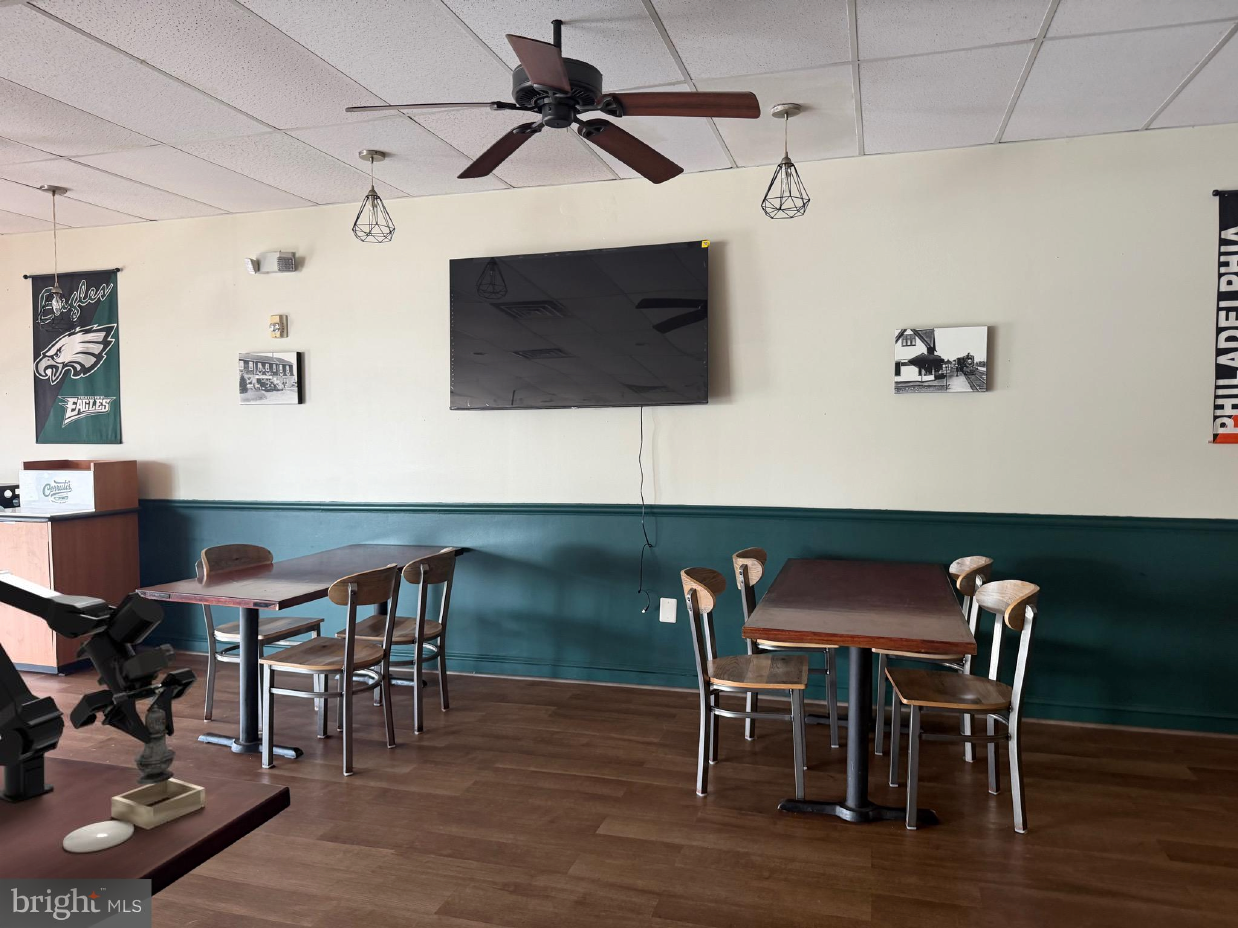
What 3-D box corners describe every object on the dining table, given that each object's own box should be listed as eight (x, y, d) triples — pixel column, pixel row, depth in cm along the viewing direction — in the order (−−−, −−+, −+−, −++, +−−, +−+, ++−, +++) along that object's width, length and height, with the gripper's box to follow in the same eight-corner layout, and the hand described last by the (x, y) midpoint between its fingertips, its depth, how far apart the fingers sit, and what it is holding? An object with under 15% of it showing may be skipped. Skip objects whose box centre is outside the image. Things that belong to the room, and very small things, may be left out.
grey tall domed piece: (157, 786, 129) (157, 711, 129) (125, 783, 130) (125, 708, 130) (184, 771, 135) (184, 699, 134) (153, 768, 136) (152, 697, 135)
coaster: (50, 843, 121) (50, 839, 121) (111, 819, 129) (111, 815, 129) (85, 857, 117) (85, 853, 117) (146, 832, 125) (146, 828, 125)
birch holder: (111, 816, 131) (111, 797, 131) (168, 794, 139) (168, 776, 139) (148, 829, 126) (148, 810, 126) (204, 805, 135) (204, 787, 135)
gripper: (82, 643, 125) (129, 725, 121) (190, 621, 142) (235, 693, 138) (49, 687, 128) (94, 769, 124) (159, 661, 145) (202, 732, 141)
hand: (160, 738), depth 131 cm, fingers closed on grey tall domed piece, 4 cm apart
